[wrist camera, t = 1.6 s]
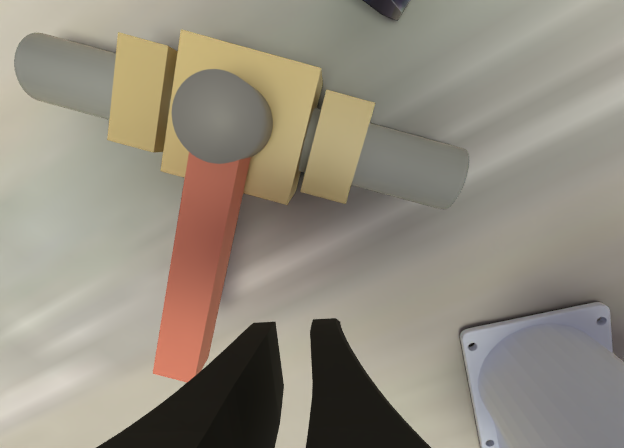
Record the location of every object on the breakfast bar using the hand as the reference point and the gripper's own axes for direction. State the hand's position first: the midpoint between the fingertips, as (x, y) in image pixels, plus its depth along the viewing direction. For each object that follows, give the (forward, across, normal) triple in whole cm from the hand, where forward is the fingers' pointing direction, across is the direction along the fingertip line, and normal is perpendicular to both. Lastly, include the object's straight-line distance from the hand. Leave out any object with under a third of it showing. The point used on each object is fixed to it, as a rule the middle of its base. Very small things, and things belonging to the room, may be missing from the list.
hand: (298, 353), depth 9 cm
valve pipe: (+10, +2, -7) cm, 12 cm away
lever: (+6, +4, -2) cm, 7 cm away
